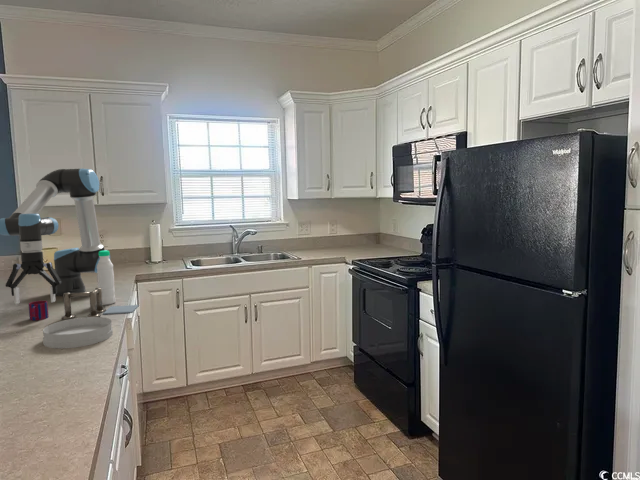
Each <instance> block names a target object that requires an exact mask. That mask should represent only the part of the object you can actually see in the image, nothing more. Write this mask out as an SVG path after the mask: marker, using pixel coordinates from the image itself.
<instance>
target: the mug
mask: <svg viewBox="0 0 640 480" xmlns="http://www.w3.org/2000/svg"><path fill="white" fill-rule="evenodd" d="M28 315H29V317H28V318H29V320H30V321H34V322H35V321H43V320H46V319H48V318H49V306H48V300H37V301H30V302H28Z"/></svg>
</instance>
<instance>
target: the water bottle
mask: <svg viewBox="0 0 640 480" xmlns="http://www.w3.org/2000/svg"><path fill="white" fill-rule="evenodd" d="M109 255H110V256H111V253H110V250H108V251H99V257H100V260H99V262H98V264H97V273H96V275H97V277H96V278H97V288H101V290H102V305H103V306H109V305H112V304H116V295H115V294H116V291H115V290H116V289H115V274H114V273H115V272H114V264H113V263H112V261H111V258H110V259H109Z"/></svg>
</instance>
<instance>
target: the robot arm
mask: <svg viewBox="0 0 640 480" xmlns="http://www.w3.org/2000/svg"><path fill="white" fill-rule="evenodd" d="M99 190H100V180H99V177H98V175H97V174H96V172H95V171H94V170H93V169H89V168H60V169H55V170H53V171H51V172H49V173H47V174H46V175H44V176H43V177H42V178H40V180H38V182H37V183H36V185H35V188H34V190H32V192H31V193H30V194H29V195H28V196H27V198H26V199H24V201H23V202H22V203H20V205H19V206H18V207H17V208H16V209H15V210H14V211H13V212H12V214H11V215H9V217H2V218H0V235H1V236H7V237H8V236H9V237H12V236H13V237H14V236H19V244H20V251H21V252H20V258H21V261H20V262H21V264H20V263H18V262H17V263H14V264H13V265H12V270H11V272H10V275H9V276H8V279H7V281H6V283H5V285H4V286H5V287H6V288H9V289H10V291H11V292H10V293H11V296H12V297H13V298H14V301H13V302H14V305H18V304H20V302H21V300H20V299H21V298H20V287H19V286H18V285H19V284H20V283H21V282H22V280H23V279H24V278H25V277H26V276H27V275H40V276H41V277H42V278H43V279H44V280H45V281H46V282H47V283H48V284H50V285H51V286H49V292H50V303H55V302H56V296H58V297H59V296H60V297H61V296H63V297H64V293H83V292H86V285H85V283H84V281H83V279H82V274H83V273H88V274H89V273H95V274H97V264H98V262H99V260H100V257H99V251H109V250H108V249H105V245H104V244H102V243H101V239H100V233H99V226H98V219H97V214H96V207H95V201H94V198H95V196H97V193H98V192H99ZM62 193H65V194H66V193H67V194H68V193H69V196H70V197H69V198H71V199H72V200H74V204H75V205H74V206H75V212H76V219H77V225H78V229H79V236H80V242H81V246H80V247H72V248H71V247H70V248H66V249H61V250H60V249H59V250H56V251H54V253H53V263H52V262H51V261H50V262H45V263H44V254H43V253H44V252H43V251H42V250H43V237H42V236H51V235H53V234H55V233H57V231H58V230H59V222H58V221H57V219H56V218H54V217H49V216H44V217H41V215H40V212H41V211H42V210H43V208H44V207H45V206H46V204H47V203H49V201H50V200H51V199H52V198H55V197H56V196H57V195H58V194H62ZM109 259H110V260H111V254H110V255H109ZM53 264H54V266H53ZM44 268H46V269H47V271H48V272H49V274H50V275H51V276H50V275H49V274H48V273H47V272H46V270H44ZM20 269H22V271H21V272H20V274H19V275H18V277H17V278H16V276H17V274H18V272H19V270H20Z"/></svg>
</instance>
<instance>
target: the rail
mask: <svg viewBox="0 0 640 480" xmlns="http://www.w3.org/2000/svg"><path fill="white" fill-rule="evenodd" d="M84 297H89V309H90V311H89V312H90V313H89V314H87V316H86V317H102V316H101V315H102V314H103V313H104V312H105V311H106V310H107V308H104V305H102V290H101V288H98V287H95V289H94V290H93V291H87V292H86V291H85V292H83V293H64V295H63V304H64V305H63V306H64V315H63V316H61V319H62V320H69V319H75V318H76V315H75V314H73V313H72V302H71V299H72V298H84ZM101 313H102V314H101Z"/></svg>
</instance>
